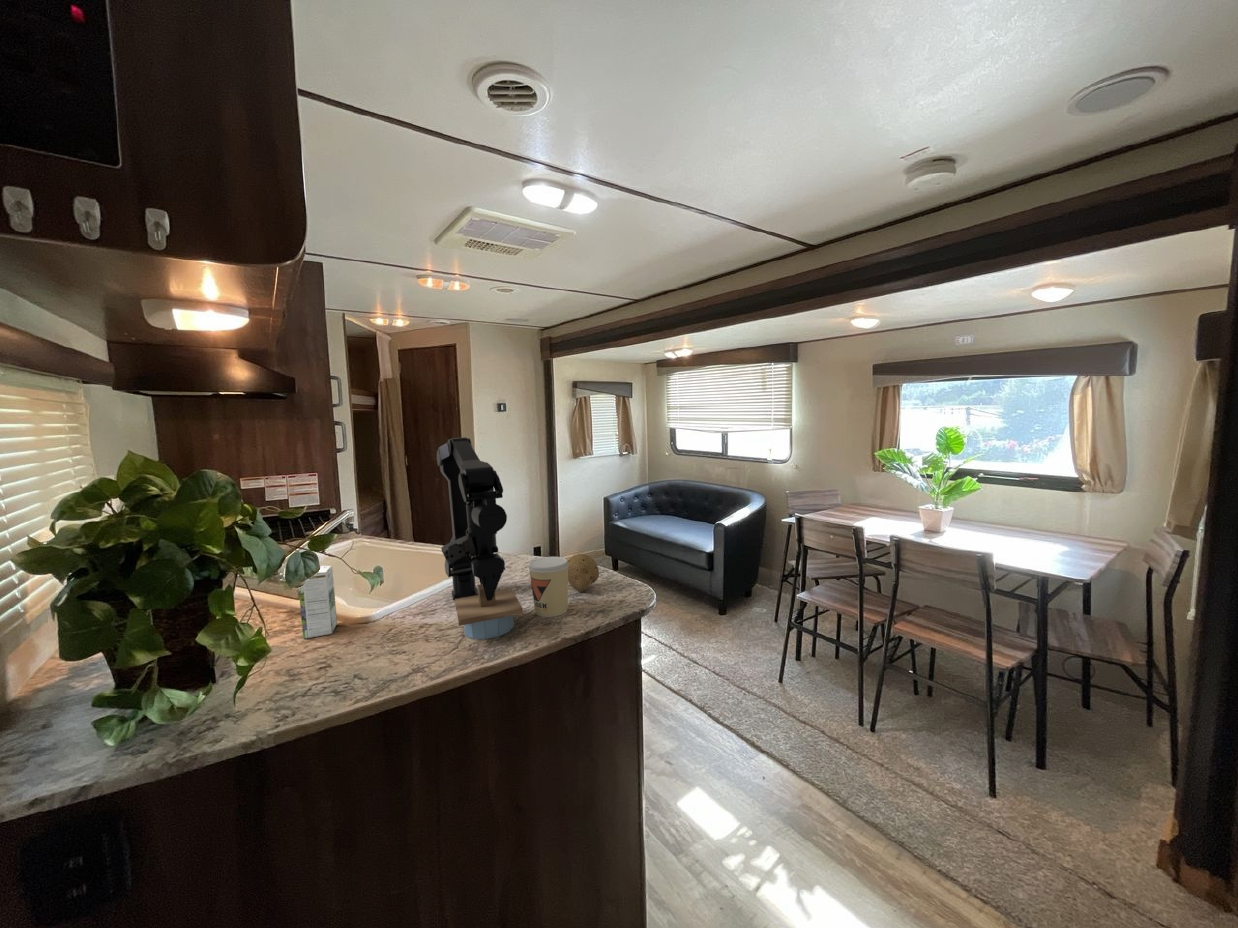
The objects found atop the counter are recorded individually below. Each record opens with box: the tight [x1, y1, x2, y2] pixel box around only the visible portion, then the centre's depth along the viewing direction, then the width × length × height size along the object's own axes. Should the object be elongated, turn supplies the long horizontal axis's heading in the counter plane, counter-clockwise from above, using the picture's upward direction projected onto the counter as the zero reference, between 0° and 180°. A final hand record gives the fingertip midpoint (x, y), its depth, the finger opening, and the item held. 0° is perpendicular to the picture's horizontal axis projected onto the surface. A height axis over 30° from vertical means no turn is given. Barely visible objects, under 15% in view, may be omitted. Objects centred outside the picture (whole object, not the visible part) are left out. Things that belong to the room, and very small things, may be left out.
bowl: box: [463, 615, 515, 640], centre depth 106 cm, size 10×10×4 cm
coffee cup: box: [528, 556, 569, 618], centre depth 114 cm, size 9×9×12 cm
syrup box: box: [298, 565, 338, 639], centre depth 108 cm, size 6×6×14 cm
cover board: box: [454, 584, 524, 627], centre depth 106 cm, size 13×13×5 cm
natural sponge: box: [567, 553, 600, 593], centre depth 127 cm, size 9×9×10 cm
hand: (486, 593), depth 106 cm, fingers open, 9 cm apart
